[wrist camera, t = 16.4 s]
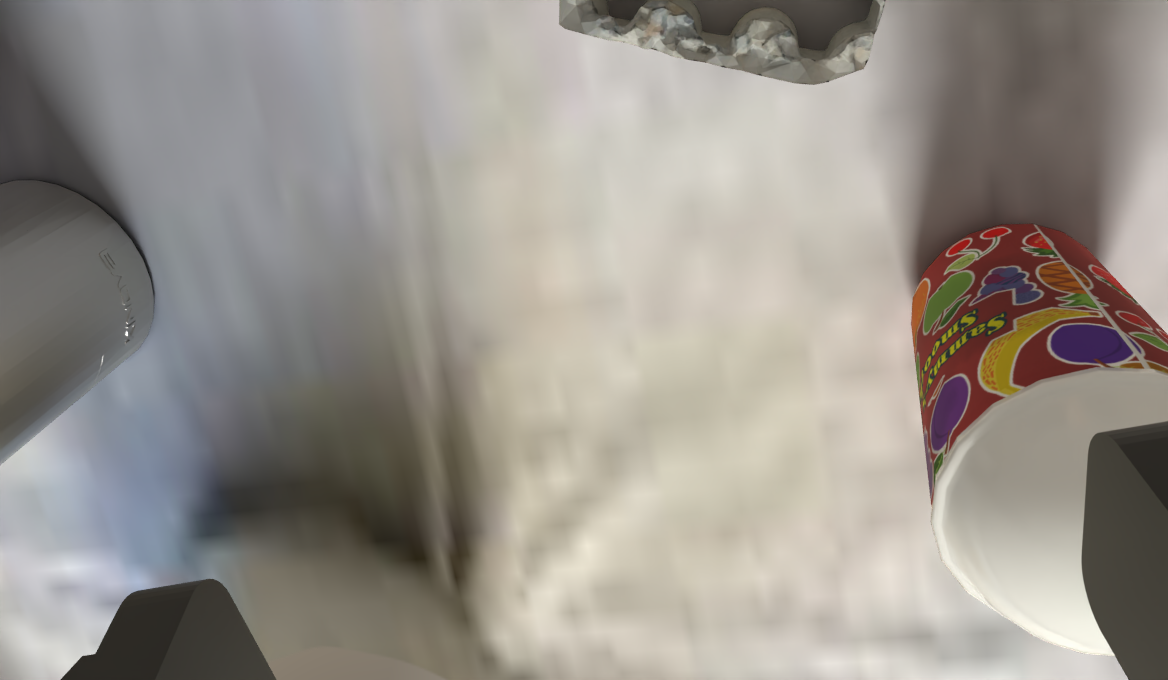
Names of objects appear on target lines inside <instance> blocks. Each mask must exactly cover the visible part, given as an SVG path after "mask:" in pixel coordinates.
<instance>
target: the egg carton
mask: <svg viewBox="0 0 1168 680" xmlns="http://www.w3.org/2000/svg"><path fill="white" fill-rule="evenodd" d="M884 4H885V0H873V2H872V4H871V8H870V11H869V14H868V17H867V18H866V19H865V20H864V21H861V22H856V23H851V24H849V25H847V26H845V27H843V28H841V29H840V30H839V31H837V33H836V34H835V35H834V36H833V37H832V39H831V41H830V43H829V46H828V47H827V49H826V50H824V51H818V50H811V49H805V48H801V47H799V46H798V34H797V31H796V28H795V25H794V23H793V22H792V20H791V19H790V18H789V17H788V16H787V15H786V14H785V13H783V12H781V11H780V10H778V9H775V8H768V7H763V8H758V9H753V10H751V11H750V12H748V13H746V14H745V15H744V16H743V17H742V18H740V20H739V21H738V23H737V24H736V26H735V27H734V29H733V31H732V32H731V34H730V35H718V34H713V33H707V32H703V31H702V27H701V18H700V14H699V12H698V10H697V8H696V6H695V5H694V3H693V2H692V1H691V0H648V1H647V2H646V3H645V4H644V5H643V6H642V7H641V8H640V9H639V10H638V11H637V13H636V15H635V16H634V18H633V20H626V19H619V18H614V17H611V16H609V10H608V4H607V0H560V10H559V24H560V25H561V26H562V27H564V28H565V29H568V30H572V31H575V32H579V33H582V34H586V35H590V36H594V37H598V38H602V39H606V40H610V41H619V42H624V43H628V44H632V45H636V46H639V47H641V48H643V49H654V50H657V51H660V52H663V53H666V54H668V55H670V56H673V57H678V58H682V59H688V60H694V61H700V62H705V63H709V64H713V65H717V66H721V67H725V68H731V69H737V70H742V71H746V72H750V73H753V74H756V75H760V76H765V77H769V78H774V79H778V80H783V81H787V82H792V83H799V84H811V85H815V84H820V83H825V82H829V81H831V80H834V79H837V78H839V77H842V76H845V75H847V74H850V73H853V72H856V71H858V70H861V69H864V67H865V65H866V63H867V61H868V59H869V55H870V52H871V47H872V44H873V38H874V34H875V32H876V30H877V27H878V24H879V21H880V18H881V15H882V11H883V8H884Z"/></svg>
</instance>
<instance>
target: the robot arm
mask: <svg viewBox="0 0 1168 680" xmlns="http://www.w3.org/2000/svg"><path fill="white" fill-rule="evenodd" d="M153 313H154V296H153V290H152V284H151V279H150V277H149V274H148V271H147V269H146V266H145V263H144V261H143V259H142V257H141V255H140V254H139V252H138V250H137V249H136V247H135V245H134V244H133V242H132V240H131V239H130V238H129V237H128V235H127V234H126V233H125V232H124V231H123V229H122V228H121V227H120V226H119V225H118V223H117V222H116V221H115V220H113V219H112V218H111V217H110V216H109V215H108V214H107V213H105V212H104V211H103V210H102V209H101V208H100V207H99V206H97V205H96V204H94V203H92V202H91V201H89V200H88V199H86V198H84V197H83V196H81V195H80V194H78V193H76V192H73V191H71V190H68V189H66V188H64V187H61V186H59V185H56V184H51V183H46V182H41V181H37V180H15V181H12V182H8V183H4V184H0V465H1V464H2V463H4V462H5V461H6V460H7V459H8V458H9V457H11V456H12V455H13V454H14V453H15V452H17V451H18V450H19V449H20V448H21V447H23V446H24V445H25V444H26V443H27V442H29V441H30V440H31V439H32V438H33V437H35V436H36V435H37V434H38V433H39V432H41V431H42V430H43V429H44V428H45V427H46V426H48V425H49V424H50V423H51V422H52V421H54V420H55V419H56V418H57V417H58V416H60V415H61V414H62V413H63V412H64V411H66V410H67V409H68V408H69V407H70V406H72V405H73V404H74V403H75V402H76V401H78V400H79V399H80V398H81V397H83V396H84V395H85V394H86V393H87V392H88V391H90V390H91V389H92V388H93V387H94V386H96V385H97V384H98V383H99V382H100V381H101V380H103V379H104V378H105V377H106V376H107V375H108V374H110V373H111V372H112V371H113V370H114V369H115V368H117V367H118V366H119V365H120V364H121V363H122V362H124V361H125V360H126V359H127V358H128V357H129V356H131V355H132V354H133V353H134V352H135V351H137V350H138V349H139V348H140V346H141V345H142V343H143V342H144V340H145V339H146V337H147V336H148V333H149V330H150V327H151V324H152V321H153ZM1081 564H1082V575H1083V581H1084V586H1085V590H1086V594H1087V598H1088V601H1089V604H1090V607H1091V610H1092V613H1093V615H1094V618H1095V620H1096V622H1097V625H1098V627H1099V629H1100V631H1101V632H1102V634H1103V636H1104V638H1105V639H1106V641H1107V643H1108V645H1109V646H1110V648H1111V650H1112V652H1113V653H1114V655H1115V657H1116V658H1117V660H1118V662H1119V664H1120V665H1121V667H1122V669H1123V670H1124V672H1125V674H1126V676H1127V677H1128V679H1129V680H1168V421H1165V422H1159V423H1153V424H1147V425H1141V426H1135V427H1129V428H1123V429H1117V430H1111V431H1105V432H1099V433H1097V434H1095V435H1094V436H1093V437H1092V439H1091V441H1090V445H1089V449H1088V460H1087V476H1086V492H1085V508H1084V524H1083V540H1082V556H1081ZM61 680H276V678H275V676H274V674H273V673H272V671H271V669H270V667H269V665H268V663H267V662H266V660H265V658H264V656H263V654H262V652H261V651H260V649H259V647H258V645H257V643H256V641H255V640H254V638H253V636H252V634H251V632H250V630H249V629H248V627H247V625H246V623H245V621H244V619H243V618H242V616H241V614H240V612H239V610H238V608H237V607H236V605H235V603H234V601H233V599H232V598H231V596H230V594H229V592H228V591H227V589H226V588H225V587H224V586H223V585H222V584H221V583H220V582H218V581H217V580H214V579H206V580H200V581H194V582H188V583H182V584H176V585H170V586H164V587H158V588H152V589H146V590H140V591H136V592H133V593H131V594H130V595H129V596H127V597H126V599H125V600H124V601H123V602H122V604H121V605H120V607H119V609H118V611H117V613H116V615H115V617H114V619H113V621H112V622H111V624H110V626H109V628H108V630H107V632H106V634H105V636H104V638H103V640H102V642H101V644H100V646H99V648H98V650H97V652H96V654H93V655H87V656H82V657H81V658H80V659H79V660H78V661H77V662H76V664H75V665H74V666H73V667H72V668H71V669H70V670H69V671H68V672H67V673H66V674H65V675H64V677H63V678H62V679H61Z"/></svg>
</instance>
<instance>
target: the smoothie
mask: <svg viewBox="0 0 1168 680" xmlns="http://www.w3.org/2000/svg"><path fill="white" fill-rule="evenodd" d="M911 326H912V335H913V344H914V353H915V362H916V371H917V380H918V389H919V398H920V407H921V416H922V425H923V434H924V443H925V453H926V462H927V471H928V480H929V489H930V498H931V505H932V511H931V525H932V529H933V532H934V536H935V540H936V543H937V547H938V550H939V554H940V557H941V560H942V561H943V563H944V564H945V565H946V567H947V568H948V569H949V570H950V572H951V573H952V574H953V576H954V577H955V578H956V579H957V581H958V582H959V583H960V584H961V586H962V587H963V588H964V590H965V591H966V592H967V593H969V594H970V595H972V596H973V597H975V598H976V599H978V600H979V601H981V602H982V603H984V604H985V605H987V606H988V607H990V608H991V609H993V610H994V611H996V612H997V613H999V614H1000V615H1002V616H1003V617H1006V618H1007V619H1009V620H1010V621H1012V622H1013V623H1015V624H1016V625H1018V626H1019V627H1021V628H1022V629H1024V630H1025V631H1027V632H1028V633H1030V634H1031V635H1033V636H1035V637H1037V638H1039V639H1041V640H1043V641H1046V642H1048V643H1051V644H1054V645H1057V646H1060V647H1064V648H1067V649H1070V650H1073V651H1076V652H1079V653H1083V654H1094V655H1106V656H1115V655H1114V653H1113V652H1112V650H1111V648H1110V646H1109V645H1108V643H1107V641H1106V639H1105V638H1104V636H1103V634H1102V632H1101V631H1100V629H1099V627H1098V625H1097V622H1096V620H1095V618H1094V615H1093V613H1092V610H1091V607H1090V604H1089V601H1088V598H1087V594H1086V590H1085V586H1084V581H1083V575H1082V564H1081V556H1082V540H1083V524H1084V508H1085V492H1086V476H1087V460H1088V449H1089V445H1090V441H1091V439H1092V437H1093V436H1094V435H1095V434H1097V433H1099V432H1105V431H1111V430H1117V429H1123V428H1129V427H1135V426H1141V425H1147V424H1153V423H1159V422H1165V421H1168V335H1167V333H1166V332H1165V331H1164V330H1163V329H1162V328H1161V327H1160V326H1159V325H1158V324H1157V323H1156V322H1155V321H1154V320H1153V319H1152V317H1151V316H1150V315H1149V314H1148V313H1147V312H1146V311H1145V310H1144V309H1143V308H1142V307H1141V306H1140V305H1139V304H1138V303H1137V301H1136V300H1135V299H1134V298H1133V297H1132V296H1131V295H1130V294H1129V293H1128V292H1127V291H1126V290H1125V289H1124V288H1123V287H1122V285H1121V284H1120V283H1119V282H1118V281H1117V280H1116V279H1115V278H1114V277H1113V276H1112V275H1111V274H1110V273H1109V272H1108V271H1107V269H1106V268H1105V267H1104V266H1103V265H1102V264H1101V263H1100V262H1099V261H1098V260H1097V259H1096V258H1095V257H1094V256H1093V255H1092V253H1091V252H1090V251H1089V250H1088V249H1087V248H1086V247H1084V246H1083V245H1081V244H1080V243H1078V242H1077V241H1075V240H1074V239H1072V238H1071V237H1069V236H1068V235H1066V234H1065V233H1063V232H1061V231H1057V230H1053V229H1050V228H1046V227H1043V226H1039V225H1036V224H1005V225H998V226H995V227H991V228H988V229H984V230H981V231H978V232H974V233H971V234H969V235H967V236H966V237H964V238H963V239H961V240H959V241H958V242H956V243H955V244H953V245H951V246H950V247H948V248H947V249H945V250H944V251H943V252H942V253H941V254H940V255H939V256H938V257H937V258H936V259H935V261H934V262H933V263H932V264H931V265H930V266H929V267H928V268H927V270H926V271H925V272H924V273H923V275H922V278H921V280H920V282H919V285H918V287H917V289H916V292H915V294H914V296H913V302H912V317H911Z"/></svg>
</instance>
